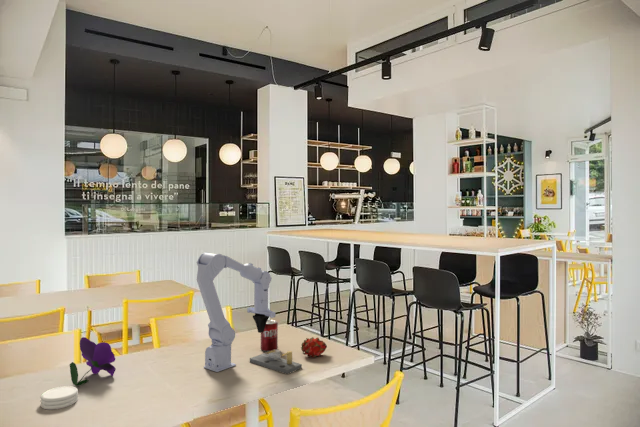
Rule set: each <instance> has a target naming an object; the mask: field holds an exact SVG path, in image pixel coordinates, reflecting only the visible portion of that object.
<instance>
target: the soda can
mask: <svg viewBox="0 0 640 427" xmlns="http://www.w3.org/2000/svg"><path fill="white" fill-rule="evenodd" d="M278 332H279V327H278V321H277V320H274V319H268V320H267V322H266V325H265V329H264V332H262V333H260V350H261V351H262V352H264V353H267V352H269V351H271V350H274V349H276V350H278V348H279V347H278V346H279V345H278V342H279V340H278V334H279V333H278Z"/></svg>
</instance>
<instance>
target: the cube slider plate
mask: <svg viewBox="0 0 640 427" xmlns="http://www.w3.org/2000/svg"><path fill="white" fill-rule="evenodd" d="M283 356H286V359H285V358H282V357H283ZM249 363H251V364H254V365H257V366H261V367H264V368H267V369H270V370H273V371H277V372H279V373H282V372H283V374H285V373H286V374H285V375H289V374H291V373H294V372H296V371H298V370H300V369H299V368H301V369H302V366H303V365H302V363H299V362H295V361H293V351H292V350H290V351H289V350H287V351H286V352H285V353H283V354H281V358H280V359H278V360H275V361H273V360H270V359H269V354H267V353H266V352H264V353H260V354H259V355H256V356H253V357H250V358H249ZM297 369H298V370H297ZM295 370H296V371H295ZM293 371H294V372H293ZM290 372H291V373H290ZM288 373H289V374H288Z"/></svg>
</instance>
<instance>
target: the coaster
mask: <svg viewBox="0 0 640 427" xmlns="http://www.w3.org/2000/svg"><path fill="white" fill-rule="evenodd" d="M78 392H79V390H78V387H77V386H73V385H72V386H71V385H65V386H64V385H63V386H62V385H61V386H57V387H53V388H50V389H48V390H46V391H44V392H43V393H42V394H41V395H40V401H39V402H40V407H41V409H44V410H52V411H53V410H59V409H64V408H67V407H68V408H69V407H70V406H72V405H73V404H74V405H75V403H77V402H78V399H79V393H78Z"/></svg>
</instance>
